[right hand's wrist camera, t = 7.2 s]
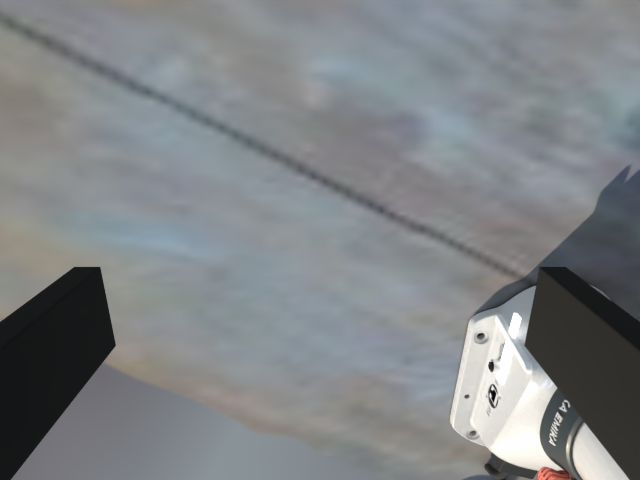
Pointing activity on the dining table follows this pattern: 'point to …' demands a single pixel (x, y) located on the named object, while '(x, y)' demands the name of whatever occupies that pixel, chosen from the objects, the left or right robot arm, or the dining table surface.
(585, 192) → the dining table surface
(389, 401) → the dining table surface
